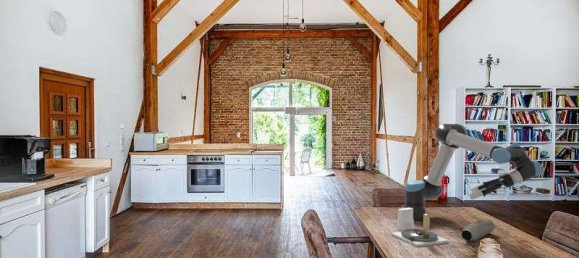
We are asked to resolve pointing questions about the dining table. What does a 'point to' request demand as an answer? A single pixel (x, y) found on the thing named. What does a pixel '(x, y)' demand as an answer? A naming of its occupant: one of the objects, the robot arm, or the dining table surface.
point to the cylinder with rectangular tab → (405, 219)
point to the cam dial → (421, 231)
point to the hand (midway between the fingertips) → (471, 194)
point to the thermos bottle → (478, 229)
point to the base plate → (419, 243)
